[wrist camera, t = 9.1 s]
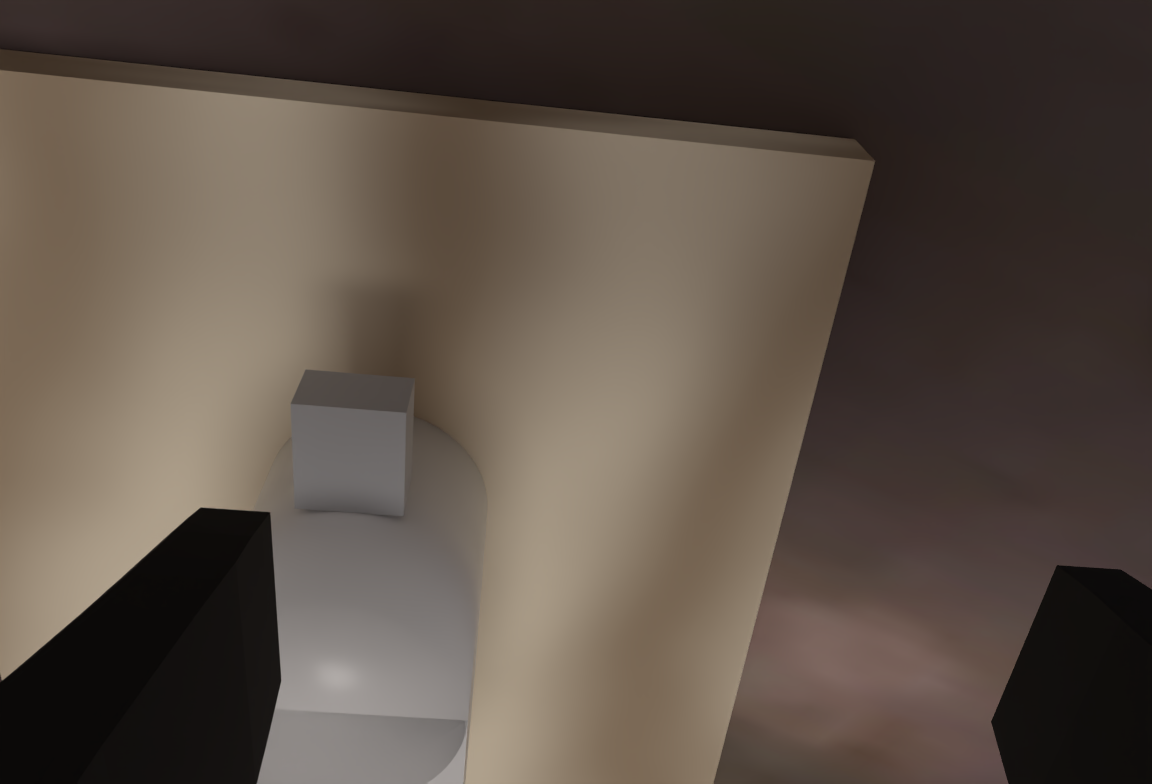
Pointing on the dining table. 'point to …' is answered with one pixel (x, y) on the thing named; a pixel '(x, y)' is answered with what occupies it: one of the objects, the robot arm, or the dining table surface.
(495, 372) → the birch board
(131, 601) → the robot arm
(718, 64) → the dining table surface
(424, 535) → the usb plug
